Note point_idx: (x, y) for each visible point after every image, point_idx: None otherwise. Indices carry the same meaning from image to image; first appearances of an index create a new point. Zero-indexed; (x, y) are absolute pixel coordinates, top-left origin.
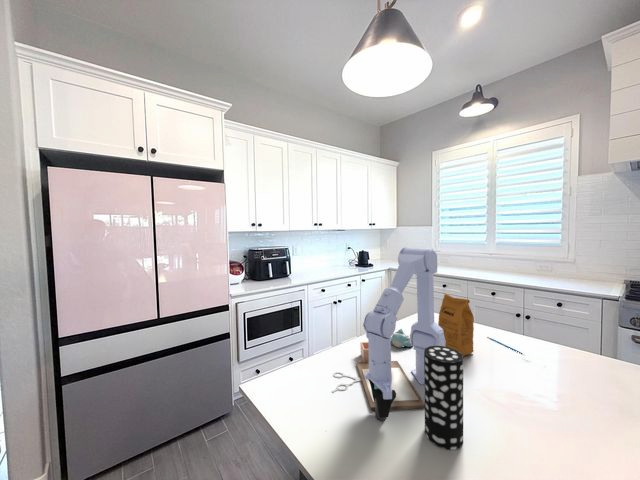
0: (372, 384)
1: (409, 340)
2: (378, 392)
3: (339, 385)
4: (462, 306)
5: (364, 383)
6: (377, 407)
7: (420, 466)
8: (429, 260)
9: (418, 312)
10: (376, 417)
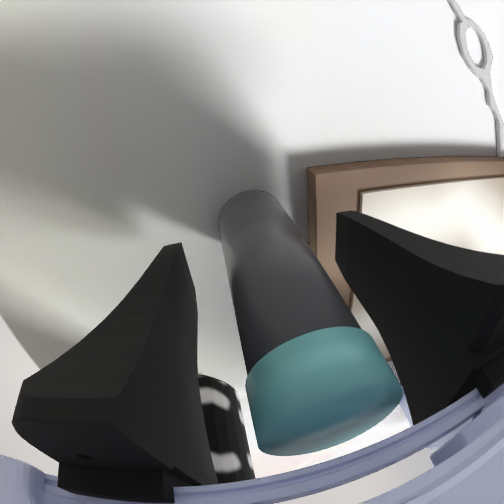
0: (425, 281)
1: None
2: (89, 453)
3: (482, 38)
4: None
5: (485, 167)
6: (237, 244)
7: (33, 338)
8: None
9: None
10: (235, 200)
